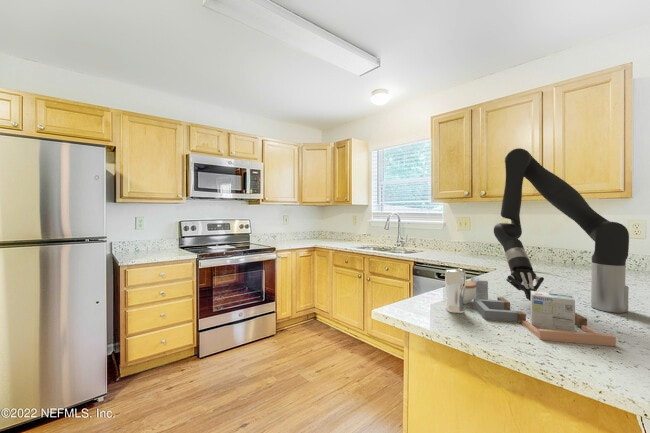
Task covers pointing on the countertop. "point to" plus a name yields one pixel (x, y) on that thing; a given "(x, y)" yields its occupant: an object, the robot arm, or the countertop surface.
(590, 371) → the countertop surface
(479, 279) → the medicine box
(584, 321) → the open corridor
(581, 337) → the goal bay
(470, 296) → the lidded jar
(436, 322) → the countertop surface
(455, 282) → the silver metal can
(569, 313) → the light bulb box
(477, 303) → the frame
